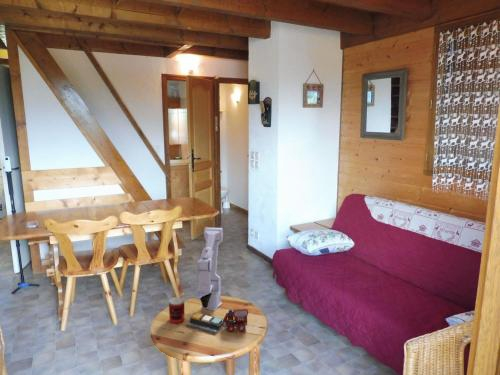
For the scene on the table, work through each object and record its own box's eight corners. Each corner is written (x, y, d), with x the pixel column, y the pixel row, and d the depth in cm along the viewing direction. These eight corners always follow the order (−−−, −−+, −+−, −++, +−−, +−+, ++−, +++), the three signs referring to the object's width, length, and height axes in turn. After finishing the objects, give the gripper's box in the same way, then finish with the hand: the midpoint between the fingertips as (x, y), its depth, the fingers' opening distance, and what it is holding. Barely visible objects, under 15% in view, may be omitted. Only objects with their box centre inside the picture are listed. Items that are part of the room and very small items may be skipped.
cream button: (205, 318, 195) (205, 315, 195) (212, 320, 193) (212, 316, 193) (201, 322, 191) (201, 318, 191) (208, 324, 190) (208, 320, 189)
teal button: (215, 321, 193) (215, 317, 192) (222, 322, 191) (222, 319, 191) (211, 325, 189) (211, 321, 189) (218, 326, 188) (218, 323, 187)
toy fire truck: (222, 325, 192) (222, 306, 190) (247, 324, 193) (247, 305, 191) (223, 333, 185) (223, 313, 183) (248, 331, 186) (248, 312, 185)
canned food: (180, 314, 202) (179, 295, 200) (187, 321, 196) (187, 301, 194) (166, 319, 197) (166, 299, 195) (174, 325, 191) (173, 305, 189)
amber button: (196, 316, 197) (196, 312, 197) (203, 318, 196) (203, 314, 195) (192, 320, 194) (192, 316, 193) (199, 321, 192) (198, 318, 192)
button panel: (198, 315, 201) (198, 310, 201) (227, 322, 195) (227, 317, 194) (186, 326, 191) (186, 321, 190) (216, 334, 184) (216, 329, 183)
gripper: (205, 275, 199) (205, 299, 202) (190, 286, 186) (190, 312, 189) (216, 277, 196) (217, 301, 199) (202, 289, 183) (203, 315, 186)
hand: (205, 307), depth 194 cm, fingers closed
